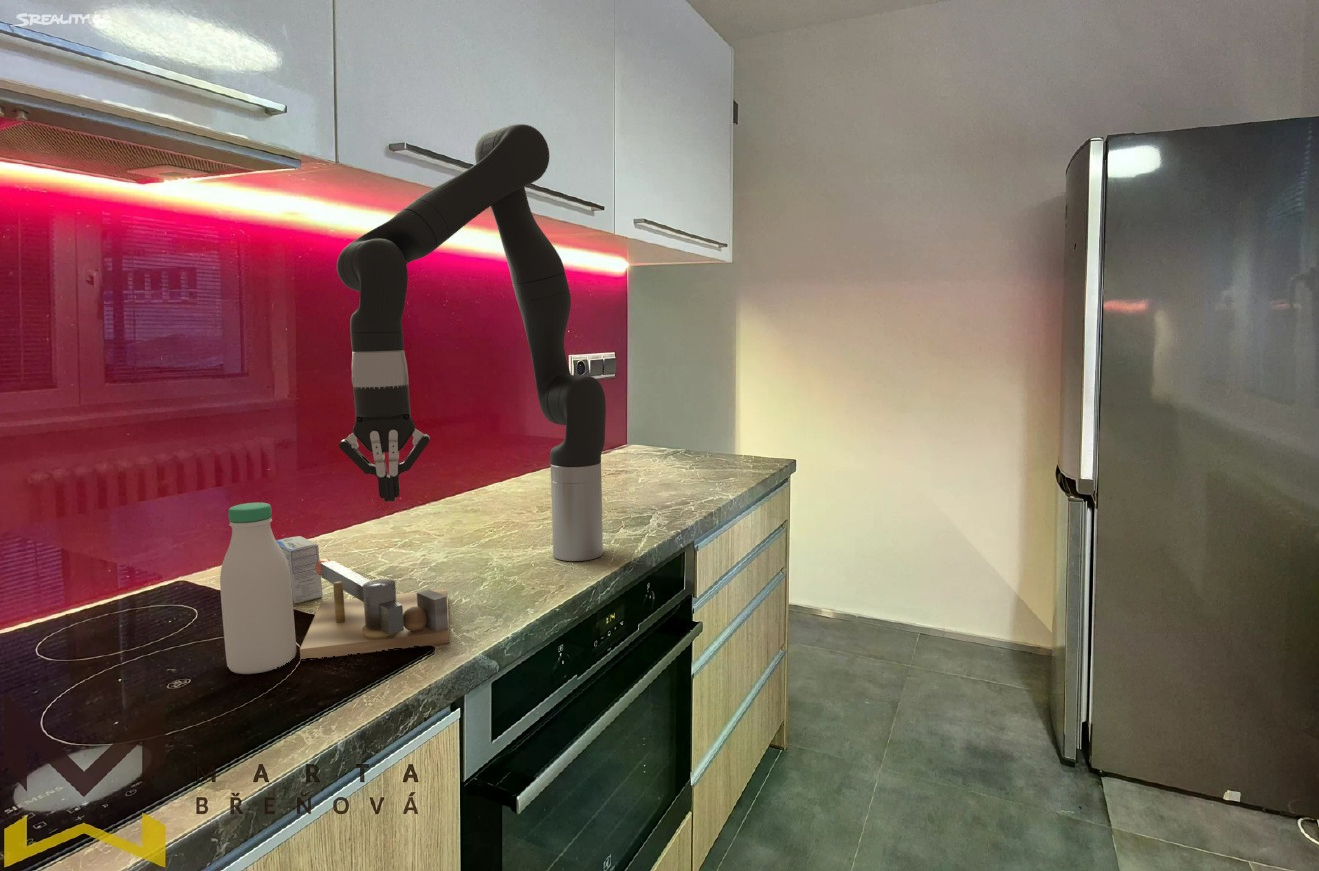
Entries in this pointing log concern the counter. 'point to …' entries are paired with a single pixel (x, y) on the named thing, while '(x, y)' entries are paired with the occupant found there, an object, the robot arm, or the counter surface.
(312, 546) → the medicine box
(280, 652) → the milk bottle
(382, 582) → the lever
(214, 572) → the counter surface
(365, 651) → the base
